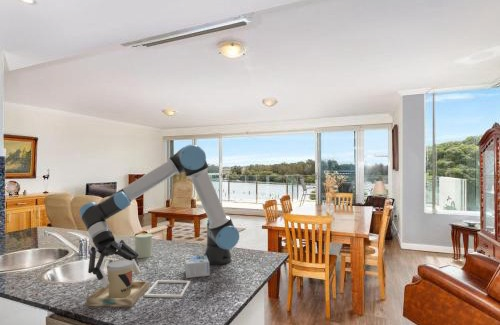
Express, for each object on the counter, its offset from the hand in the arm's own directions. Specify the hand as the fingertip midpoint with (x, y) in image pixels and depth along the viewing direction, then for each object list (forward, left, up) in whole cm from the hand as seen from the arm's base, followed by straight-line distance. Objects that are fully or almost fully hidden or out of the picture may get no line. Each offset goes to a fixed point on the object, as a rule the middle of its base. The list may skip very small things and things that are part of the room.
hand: (123, 279), depth 109 cm
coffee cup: (+2, -1, -6) cm, 7 cm away
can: (+13, -52, -7) cm, 54 cm away
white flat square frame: (-15, -8, -7) cm, 18 cm away
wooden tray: (+2, -1, -7) cm, 7 cm away
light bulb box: (-17, -25, -3) cm, 30 cm away
